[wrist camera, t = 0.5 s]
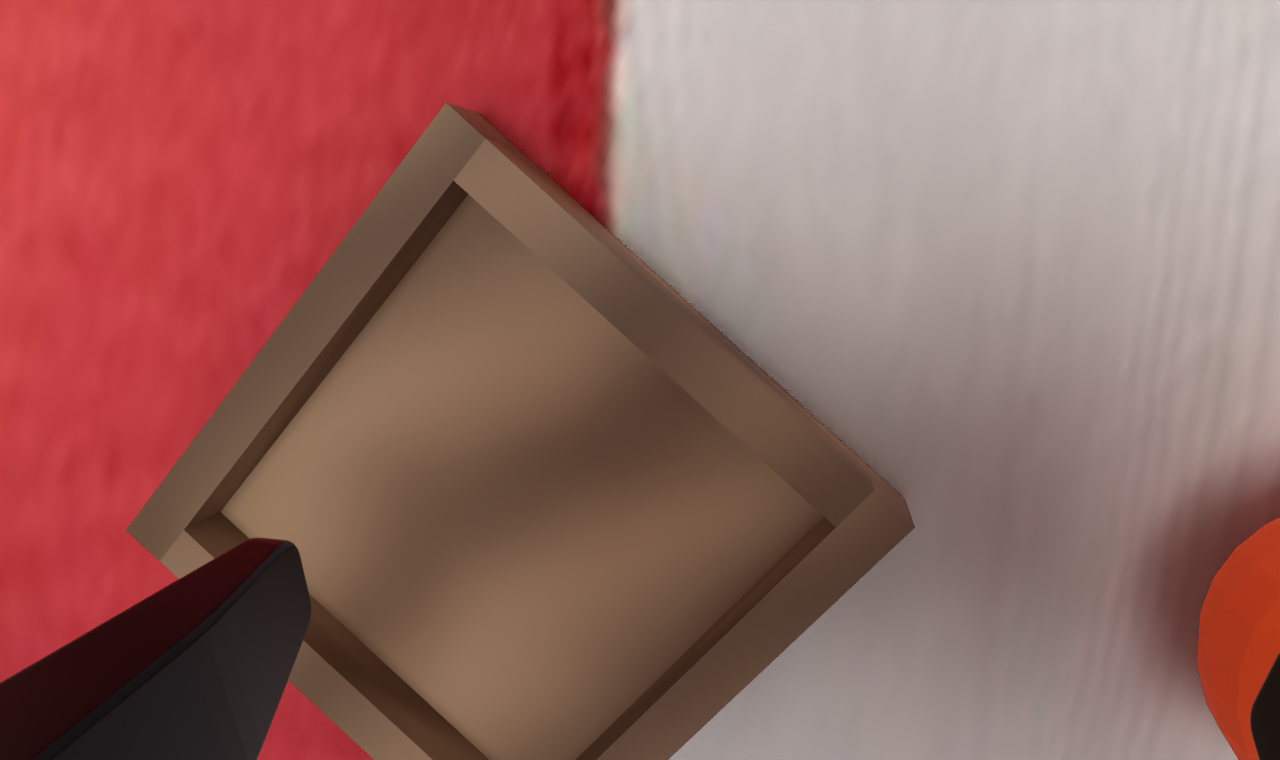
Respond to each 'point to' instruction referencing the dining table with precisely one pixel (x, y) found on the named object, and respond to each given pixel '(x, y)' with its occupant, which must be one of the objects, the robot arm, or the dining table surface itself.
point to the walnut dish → (520, 479)
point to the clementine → (1241, 634)
